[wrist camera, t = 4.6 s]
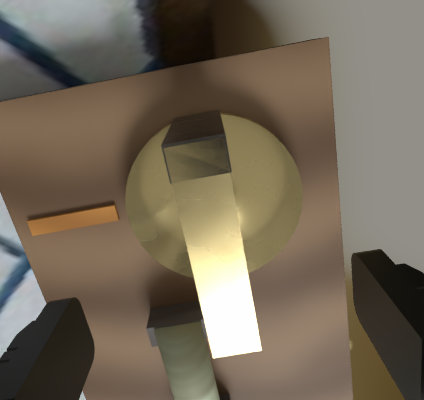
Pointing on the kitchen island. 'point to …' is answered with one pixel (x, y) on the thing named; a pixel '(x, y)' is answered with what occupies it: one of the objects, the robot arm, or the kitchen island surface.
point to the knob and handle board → (150, 268)
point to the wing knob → (216, 213)
